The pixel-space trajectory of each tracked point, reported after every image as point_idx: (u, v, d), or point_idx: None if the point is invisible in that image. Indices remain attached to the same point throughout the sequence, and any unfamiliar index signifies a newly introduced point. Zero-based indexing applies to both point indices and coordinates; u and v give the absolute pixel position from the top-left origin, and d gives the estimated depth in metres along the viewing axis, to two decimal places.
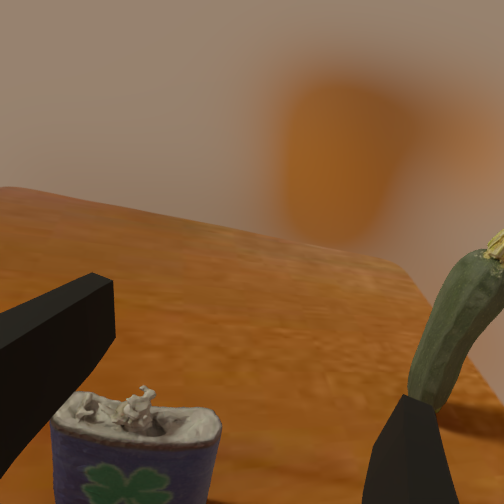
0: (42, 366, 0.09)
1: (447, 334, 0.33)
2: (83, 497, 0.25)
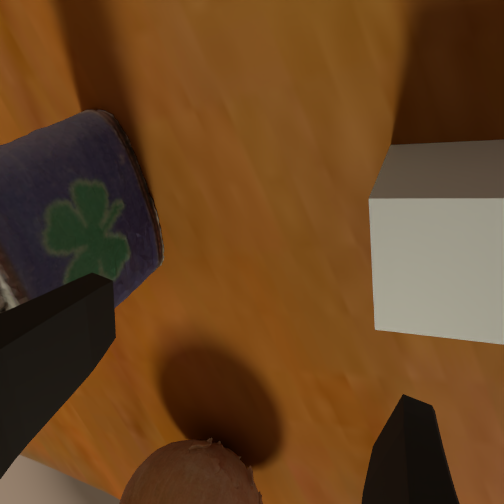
0: (42, 366, 0.09)
1: None
2: (127, 267, 0.22)
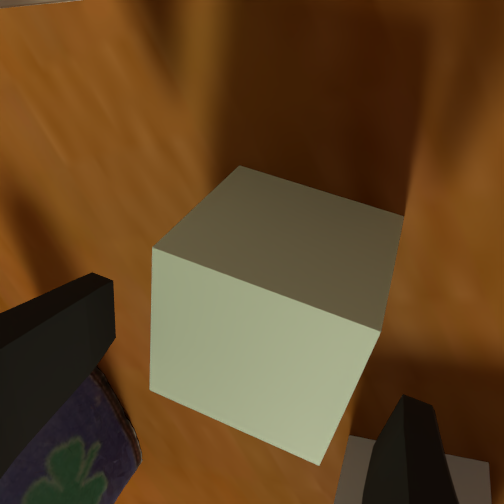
0: (42, 366, 0.09)
1: None
2: (104, 496, 0.23)
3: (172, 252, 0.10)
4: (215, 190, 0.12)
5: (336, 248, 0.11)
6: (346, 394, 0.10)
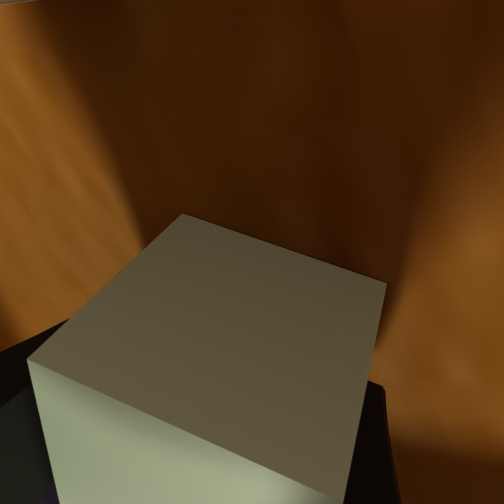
0: None
1: None
2: None
3: (54, 366, 0.07)
4: (141, 256, 0.09)
5: (291, 345, 0.08)
6: None
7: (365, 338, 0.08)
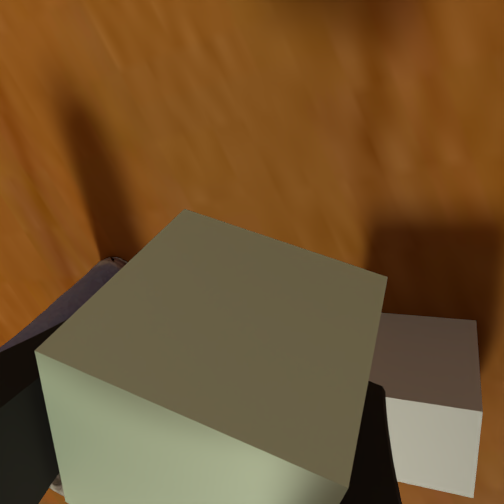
0: None
1: None
2: None
3: (62, 358, 0.07)
4: (144, 250, 0.09)
5: (295, 337, 0.08)
6: None
7: (367, 330, 0.08)
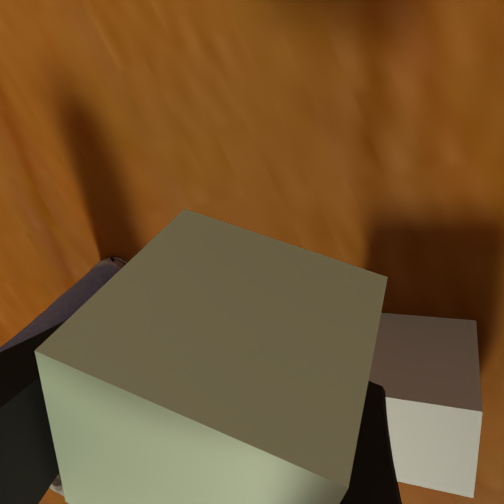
0: None
1: None
2: None
3: (62, 358, 0.07)
4: (144, 250, 0.09)
5: (295, 337, 0.08)
6: None
7: (367, 330, 0.08)
